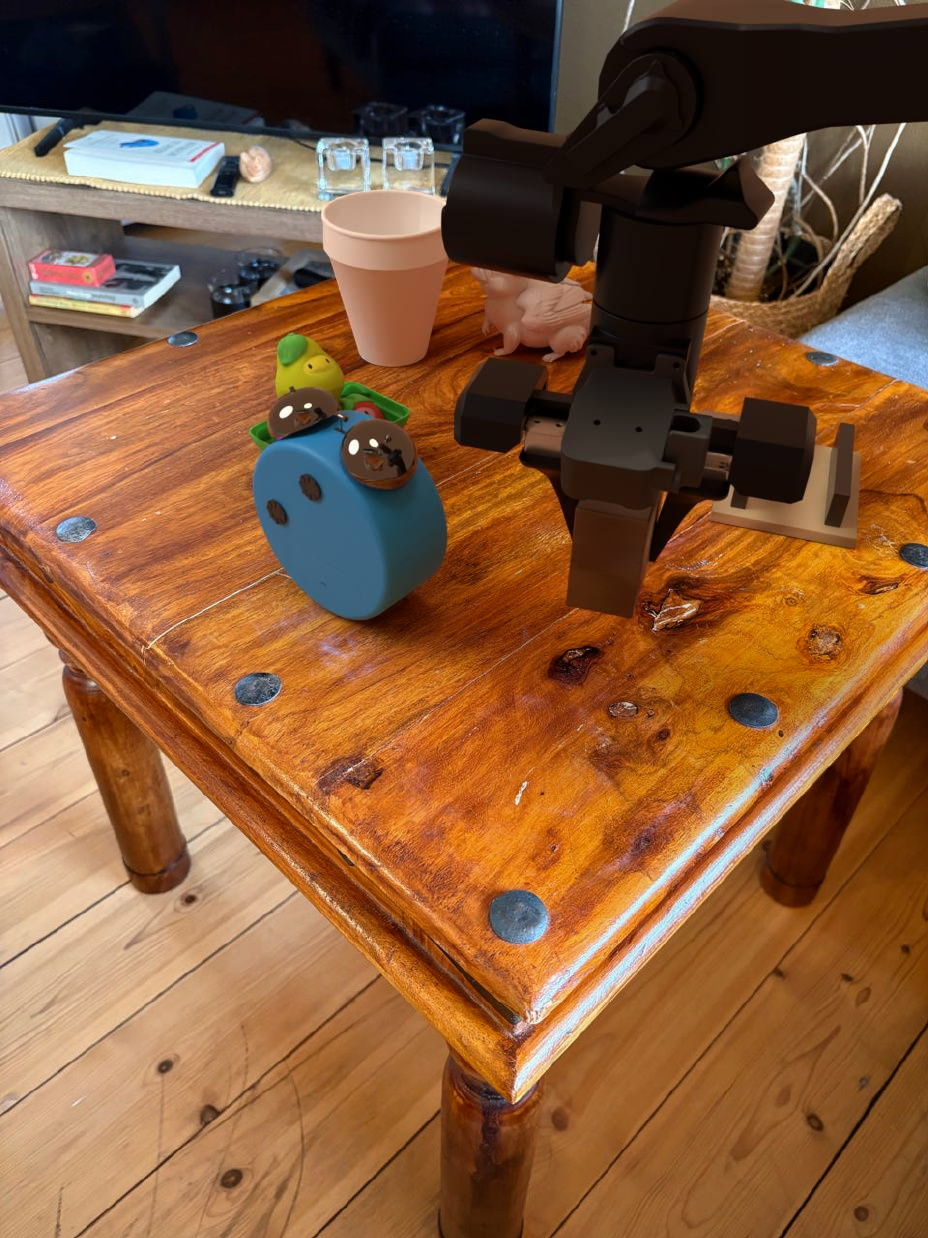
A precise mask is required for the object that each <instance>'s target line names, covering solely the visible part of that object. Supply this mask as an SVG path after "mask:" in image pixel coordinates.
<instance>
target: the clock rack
mask: <svg viewBox="0 0 928 1238" xmlns="http://www.w3.org/2000/svg"><path fill="white" fill-rule="evenodd" d="M855 432H856V424H854V423H848V422H842V421H841V422H839V425H838V428H837V432H836V435H835V438H834V441H833V445H832V446H827V445H820V444H816V443H815V449H814V459H813V463H812V468H811V473H810V476H809V480H808V483H807V487H806V490H805V494H804V497H803V500H802V501H799V502H796V503H793V504H787V503H781V502H775V501H770V500H764V499H759V498H753V497H747V496H742V495H739V494H738V492H737V491H736V490H735V489H734V488H733V486H732V485H730V490H729V494H728V496H727V498H726V499H724V500H722V501H713V503H712V506H711V507H712V508H711V510H710V515H709V521H710V522H713V523H714V522H715V523H720V524H725V525H730V526H735V527H740V528H745V529H750V530H755V531H759V532H765V533H771V534H775V535H776V534H777V535H780V536H785V537H790V538H794V539H795V538H796V539H799V540H800V539H801V540H806V541H810V542H816V543H822V544H825V545H832V546H837V547H840V548H841V547H842V548H847V549H852V550H853V549H855V546H856V543H857V540H858V524H859V523H858V522H859V507H860V506H859V505H860V486H861V469H862V467H861V465H862V452H861V451H855V450H854V447H855V446H854V445H855Z"/></svg>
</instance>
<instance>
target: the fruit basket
mask: <svg viewBox="0 0 928 1238" xmlns="http://www.w3.org/2000/svg"><path fill="white" fill-rule="evenodd" d="M276 366H277V368H276V374H275V378H274V379H275V381H274V385H275V392H276V396H277V398H278V399H279V398H280V397H281V396H283V395H285V394H287V393H289V392H290V390H289V387H291V386H294V389H295V390H296V389H299V388H303V387H318V388H322V389H324V390H327V391H328V392H330V393H331V394H333V395H334V396H335V397H336V399H337V400H338V402H339V404H340V407H341V410H340V411H342V410H352V411H358V412H361V413H365V414H368V415H370V416H372V417H375V418H377V419H385V420H388V421H391V422H393V423H395V424H397V425H399V426H400V427H402V428H403V429H404V430H405V426H406V425H407V423H408V420H409V419H410V415H411V409H410V408H409V407H407V406H406V405H404V404H402V403H400V402H397V401H396V400H393V399H391V398H389V397H388V396H386V395H384V394H381V393H380V392H378V391H375V390H374V389H372V388H370V387H368V386H366V385H364V384H361V383H360V382H357V381H345V379H346V378H345V375H344V373H343V370H342V369H341V367H340V366H339V364H338V363H337V362H336V360H335V359H334V358H333V357H331V356H330V355H329V354H328V353H327V352H325V351H324V350H323V349H322V347H321V346H320V345H319V344H318V342H317V341H315V340H314V339H312V338H310V337H308V336H305V335H302V334H296V332H294V331H293V332H290V333H287V334H286V336H284V337H282V338H281V339H280V340H279V342H278V344H277V346H276ZM248 432H249V435H250V437H251V439H252V441H253V443H254V444H255V446H257V448H258V449H259V451H260V454H261V453H262V452H263V451H264V449H265V448H267V447H268V446H269V445H271V444H272V443H274V442H276V441H278V440H280V439H282V438H284V437H286V436H288V435H290V434H291V433H290V434H287V435H284V436H279V437H271V436H270V433H269V431H268V427H267V418H266V419H265V420H262V421H260V422H259V423H257V424H255V425H253V426H252V427H250V428H249V430H248Z"/></svg>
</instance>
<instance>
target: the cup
mask: <svg viewBox="0 0 928 1238" xmlns="http://www.w3.org/2000/svg"><path fill="white" fill-rule="evenodd" d="M445 205H446V200H445V199H442V198H440V197H438V196H436V195H433V194H430V193H426V192H421V191H415V190H408V189H392V188H391V189H390V188H389V189H387V188H385V189H370V190H362V191H357V192H356V191H355V192H352V193H348V194H345V195H342V196H339V197H337V198H334V199H332V200H331V201H330V202H327V203H326V204H325V205H324V207H323V208H322V210H321V212H320V216H321V217H320V218H321V221H322V247H323V252H324V253H325V254H326V255H327V256H328V258H329V260H330V263H331V267H332V270H333V273H334V276H335V279H336V283H337V287H338V289H339V293H340V296H341V299H342V302H343V306H344V309H345V312H346V315H347V319H348V322H349V326H350V328H351V331H352V335H353V339H354V341H355V345H356V348H357V351H358V354H359V356H360V357H361V359H362V360H364V361H366V362H367V363H369V364H372V365H376V366H379V367H389V368H395V367H396V368H397V367H405V366H410V365H413V364H415V363H418V362H419V361H421V360H423V359H424V358H425V356H426V355H427V353H428V348H429V344H430V339H431V336H432V331H433V327H434V324H435V318H436V315H437V309H438V307H439V301H440V298H441V293H442V288H443V284H444V281H445V277H446V272H447V267H448V263H449V260H450V259H449V258H448V256H447V254H446V252H445V250H444V246H443V241H442V234H441V210H442V208H443V206H445Z"/></svg>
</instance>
